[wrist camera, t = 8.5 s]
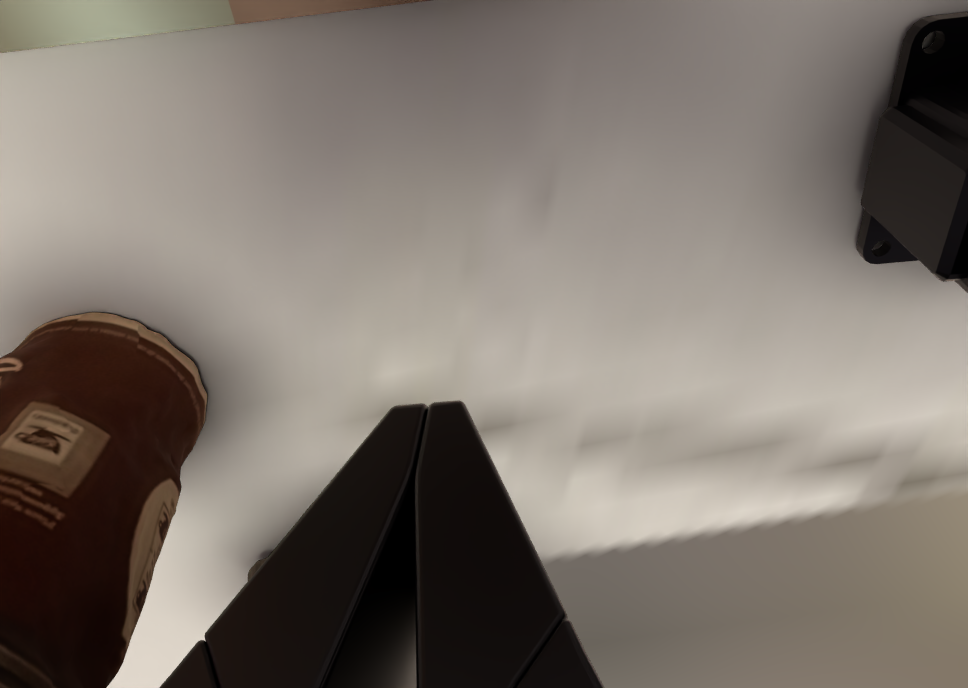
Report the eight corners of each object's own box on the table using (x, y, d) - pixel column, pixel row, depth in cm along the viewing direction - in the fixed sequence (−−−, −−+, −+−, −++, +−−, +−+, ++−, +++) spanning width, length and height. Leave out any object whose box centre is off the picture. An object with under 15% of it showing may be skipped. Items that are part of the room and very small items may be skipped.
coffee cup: (298, 406, 24) (144, 845, 13) (158, 507, 27) (-57, 927, 16) (73, 232, 20) (-398, 653, 9) (-60, 373, 23) (-523, 807, 13)
